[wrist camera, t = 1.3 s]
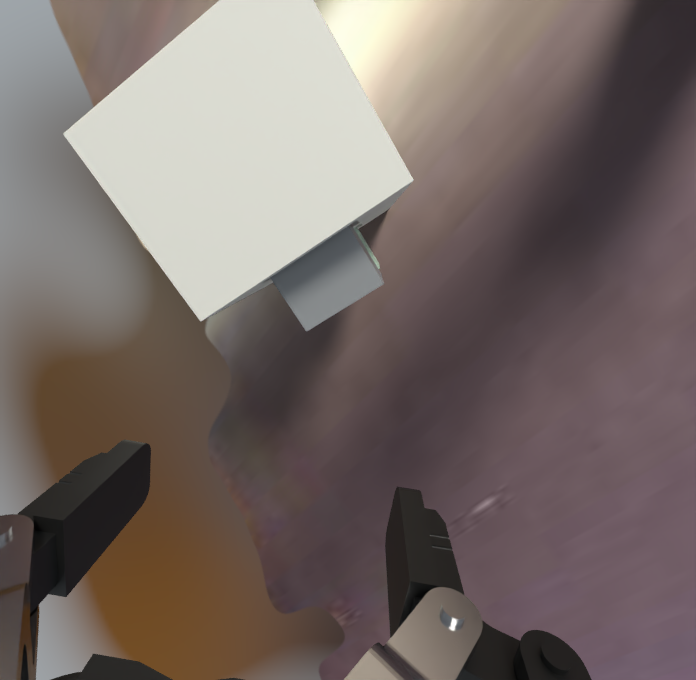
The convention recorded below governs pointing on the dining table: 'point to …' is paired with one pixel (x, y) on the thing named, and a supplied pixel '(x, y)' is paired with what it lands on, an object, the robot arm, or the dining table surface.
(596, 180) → the dining table surface
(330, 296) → the grey square block
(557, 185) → the dining table surface
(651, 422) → the dining table surface
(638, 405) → the dining table surface
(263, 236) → the key tower
